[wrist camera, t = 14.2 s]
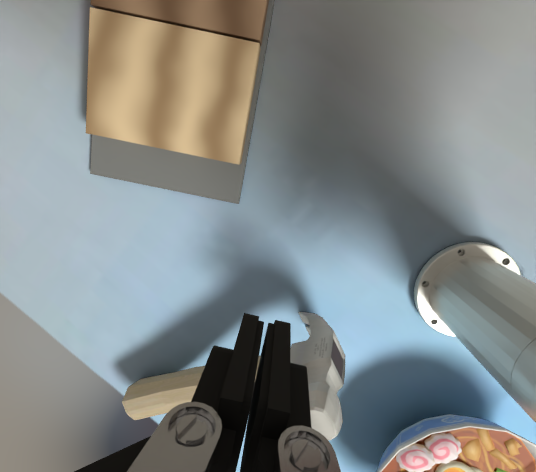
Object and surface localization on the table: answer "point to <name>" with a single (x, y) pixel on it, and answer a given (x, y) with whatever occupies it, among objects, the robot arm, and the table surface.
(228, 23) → the floor section
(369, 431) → the table surface
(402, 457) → the ramen bowl
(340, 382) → the hammer
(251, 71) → the oak plank
